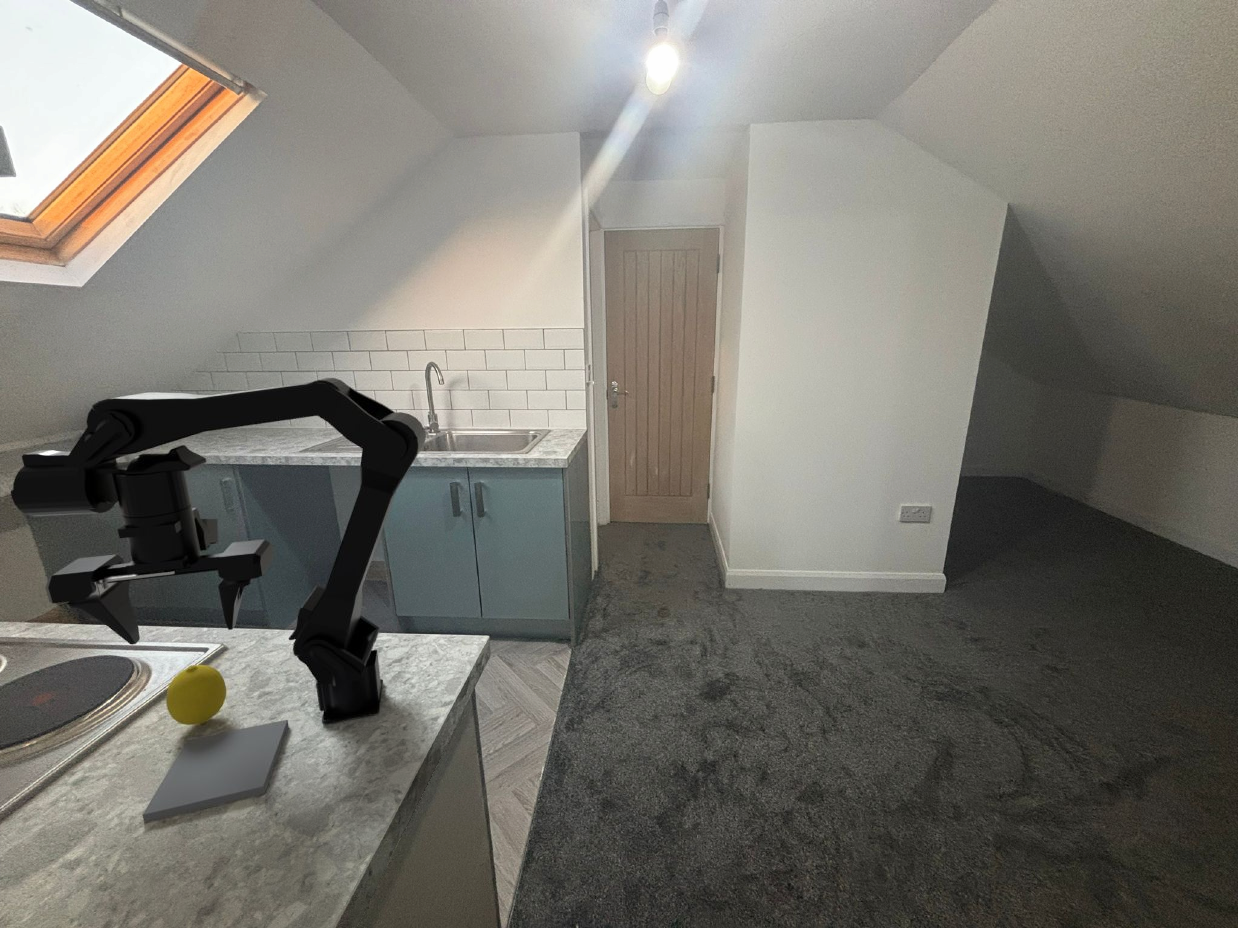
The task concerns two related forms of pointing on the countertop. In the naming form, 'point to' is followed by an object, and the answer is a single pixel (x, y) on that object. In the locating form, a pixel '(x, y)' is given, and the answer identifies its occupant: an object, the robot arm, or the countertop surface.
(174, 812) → the mat
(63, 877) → the countertop surface
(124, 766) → the countertop surface
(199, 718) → the lemon
